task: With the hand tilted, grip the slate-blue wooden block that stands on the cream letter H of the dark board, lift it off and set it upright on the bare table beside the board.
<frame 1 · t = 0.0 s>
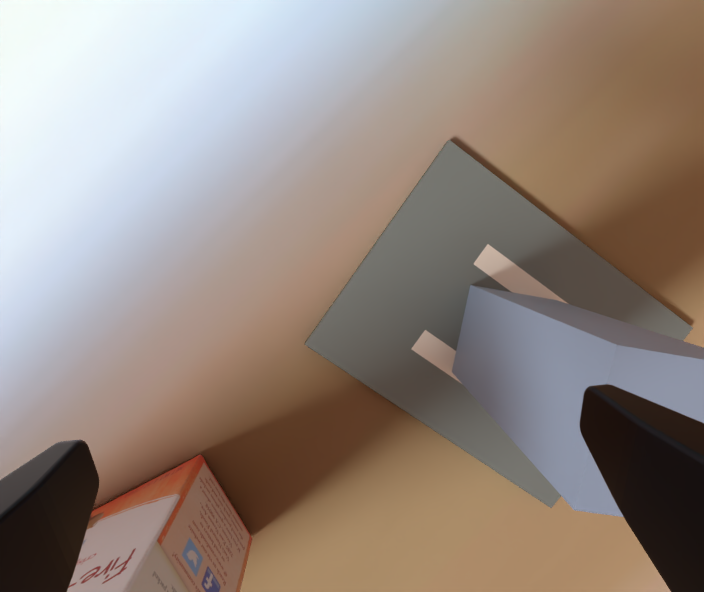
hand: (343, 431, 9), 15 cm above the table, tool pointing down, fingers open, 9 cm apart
cracker box: (111, 550, 25), on the table
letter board: (500, 334, 25), on the table
blue block: (503, 336, 24), resting on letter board
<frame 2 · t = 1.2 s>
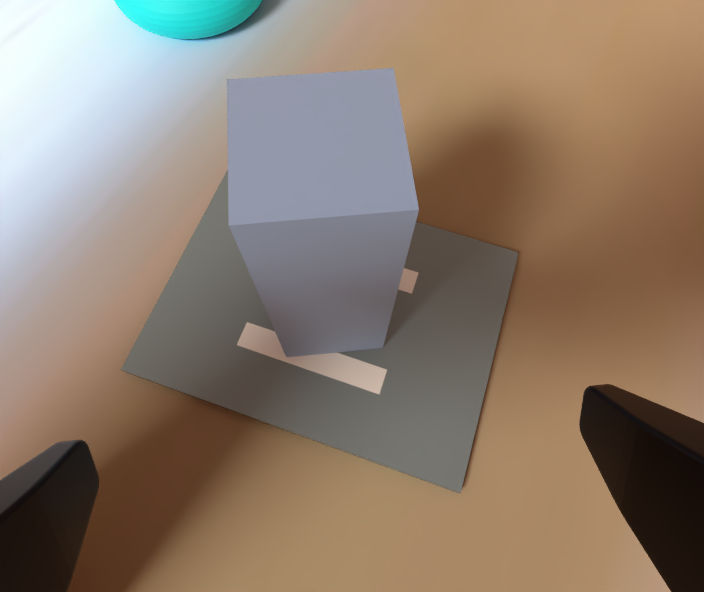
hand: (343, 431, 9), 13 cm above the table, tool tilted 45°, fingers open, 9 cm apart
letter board: (330, 310, 24), on the table
blue block: (330, 307, 23), resting on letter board
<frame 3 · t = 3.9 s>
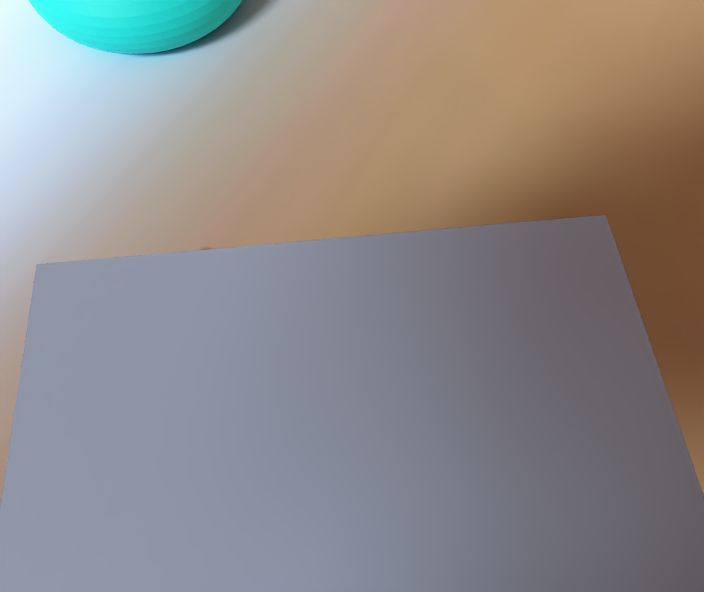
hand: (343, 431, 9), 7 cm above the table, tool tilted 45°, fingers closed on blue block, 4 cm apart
blue block: (348, 505, 14), resting on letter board, touching gripper
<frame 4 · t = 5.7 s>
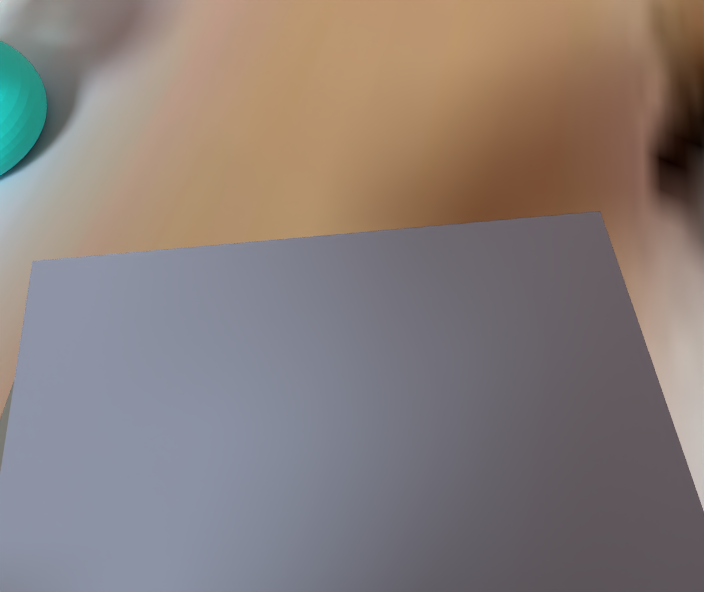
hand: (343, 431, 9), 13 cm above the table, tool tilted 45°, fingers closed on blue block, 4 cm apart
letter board: (168, 502, 21), on the table
blue block: (347, 504, 14), point 7 cm above the table, touching gripper
when the fingers open (8 cm above the table, at t = 8.0 s): blue block drops 1 cm, on the table.
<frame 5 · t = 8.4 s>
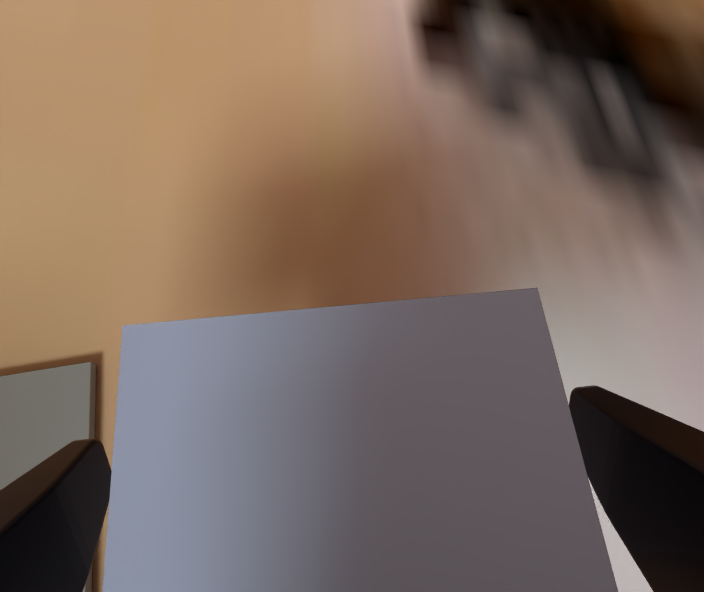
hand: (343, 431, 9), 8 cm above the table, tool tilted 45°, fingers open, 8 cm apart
blue block: (347, 503, 16), on the table
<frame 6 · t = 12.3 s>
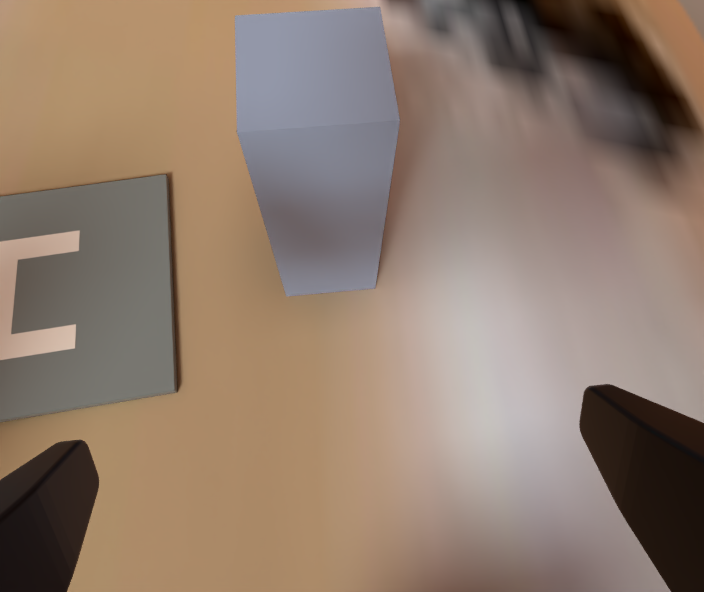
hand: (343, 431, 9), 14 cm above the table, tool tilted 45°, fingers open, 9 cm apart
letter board: (9, 300, 24), on the table
blue block: (327, 252, 25), on the table
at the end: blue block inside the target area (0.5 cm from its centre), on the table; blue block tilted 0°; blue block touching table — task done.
